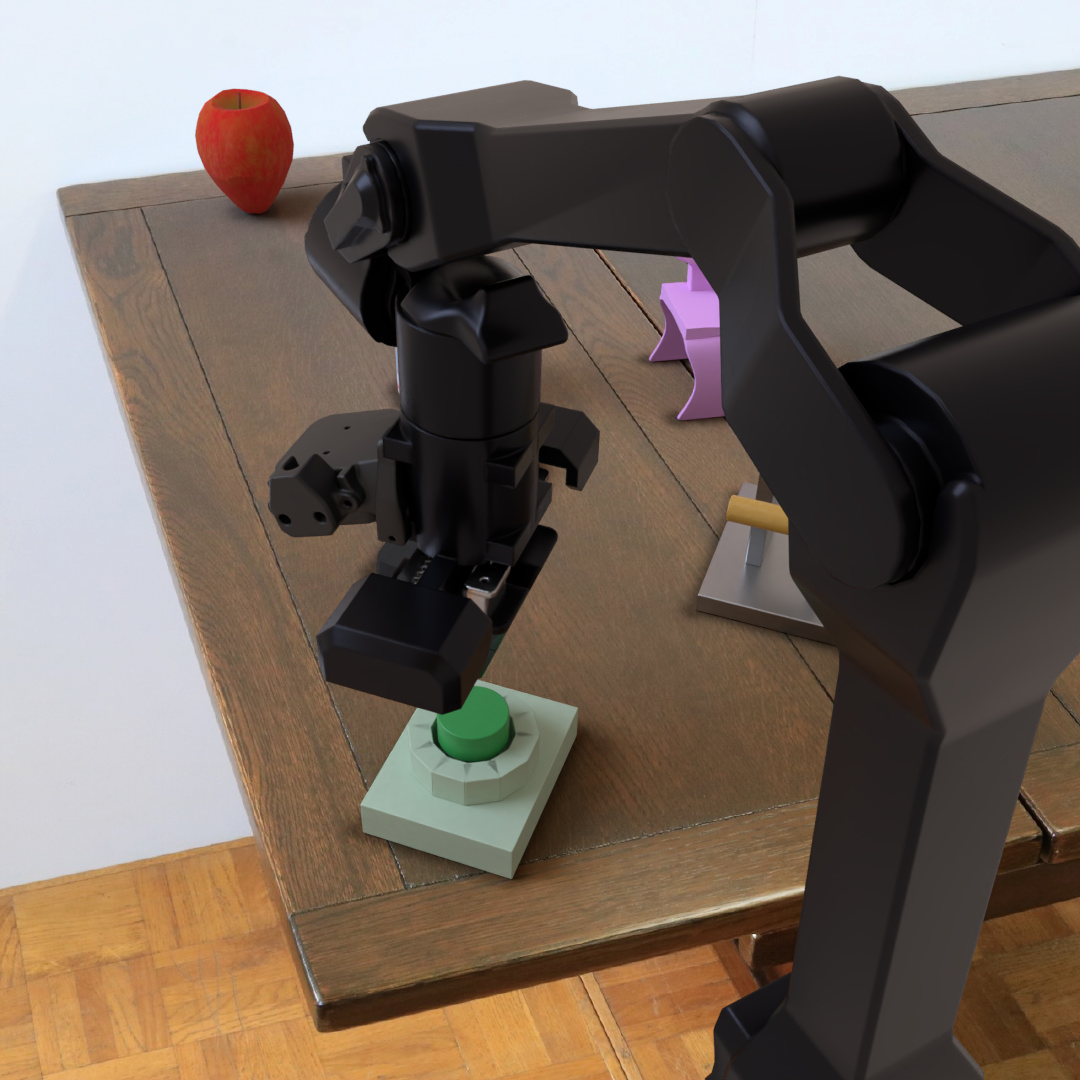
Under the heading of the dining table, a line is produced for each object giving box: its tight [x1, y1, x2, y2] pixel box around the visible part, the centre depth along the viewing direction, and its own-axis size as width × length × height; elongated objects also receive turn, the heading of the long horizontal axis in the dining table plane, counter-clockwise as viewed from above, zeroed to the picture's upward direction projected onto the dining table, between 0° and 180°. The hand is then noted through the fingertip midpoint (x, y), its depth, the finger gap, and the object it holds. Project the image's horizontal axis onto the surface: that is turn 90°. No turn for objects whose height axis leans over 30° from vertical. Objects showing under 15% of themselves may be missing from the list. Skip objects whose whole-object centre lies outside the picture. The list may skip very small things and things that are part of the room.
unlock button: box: [437, 686, 509, 762], centre depth 66 cm, size 4×4×2 cm
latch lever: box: [725, 494, 788, 535], centre depth 74 cm, size 11×6×2 cm, turn 160°
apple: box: [194, 88, 295, 215], centre depth 115 cm, size 9×8×11 cm
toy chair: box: [648, 257, 725, 421], centre depth 94 cm, size 8×9×15 cm
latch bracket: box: [695, 473, 836, 646], centre depth 80 cm, size 12×9×10 cm
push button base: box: [360, 679, 579, 880], centre depth 68 cm, size 10×8×4 cm
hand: (473, 671), depth 64 cm, fingers closed
